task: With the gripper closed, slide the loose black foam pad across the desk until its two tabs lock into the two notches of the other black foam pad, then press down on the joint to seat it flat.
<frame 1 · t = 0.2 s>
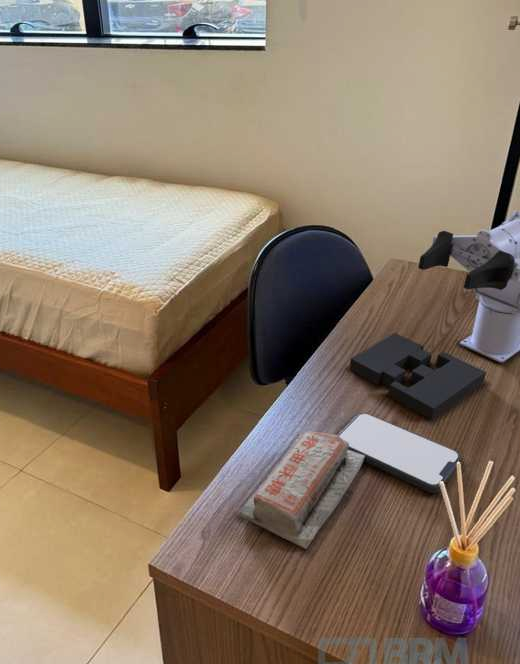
hand: (443, 272, 88), 21 cm above the table, tool horizontal, fingers open, 7 cm apart
packaged product: (304, 490, 83), on the table
loose pad: (385, 363, 106), on the table
smartphone: (395, 455, 88), on the table
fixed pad: (436, 389, 99), on the table
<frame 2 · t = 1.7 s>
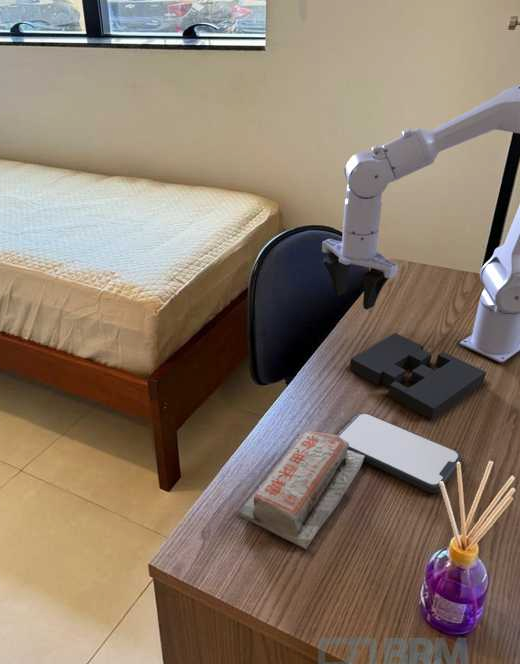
hand: (354, 300, 107), 9 cm above the table, tool pointing down, fingers open, 6 cm apart
nothing on the table moved.
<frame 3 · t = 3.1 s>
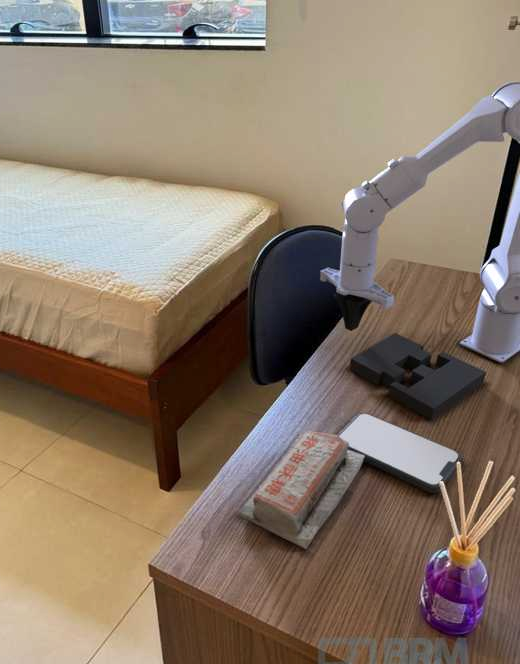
hand: (351, 327, 110), 4 cm above the table, tool pointing down, fingers closed
nothing on the table moved.
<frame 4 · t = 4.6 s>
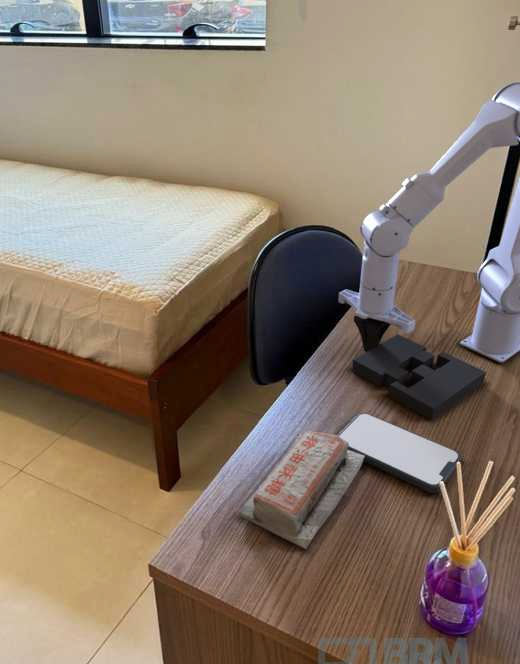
hand: (370, 350, 108), 1 cm above the table, tool pointing down, fingers closed
loose pad: (388, 364, 106), on the table, touching gripper
everything else where it was.
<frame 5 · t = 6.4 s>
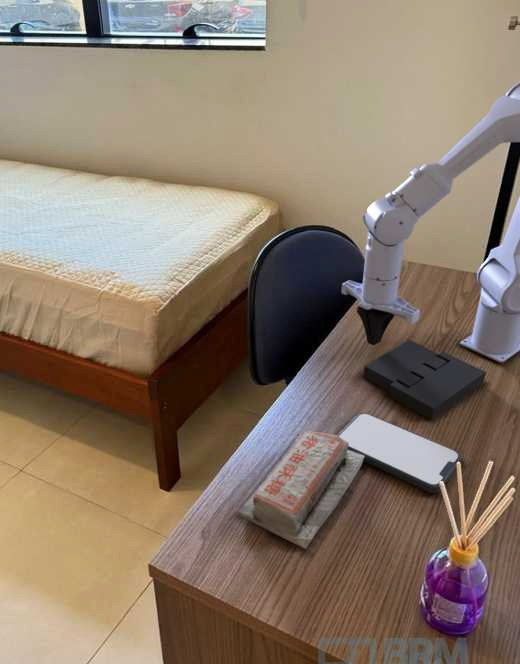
hand: (374, 342, 107), 3 cm above the table, tool pointing down, fingers closed
loose pad: (400, 371, 104), on the table
everything else where it was.
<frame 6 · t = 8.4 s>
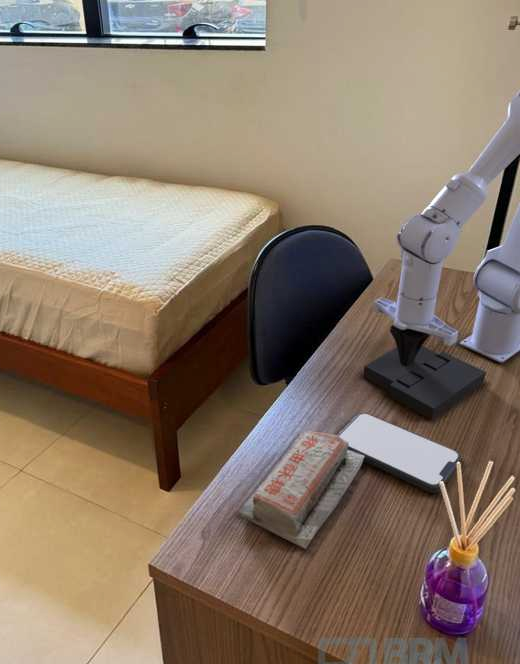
hand: (406, 362, 102), 2 cm above the table, tool pointing down, fingers closed, pressing on loose pad
loose pad: (400, 371, 104), on the table, touching gripper
everything else where it was.
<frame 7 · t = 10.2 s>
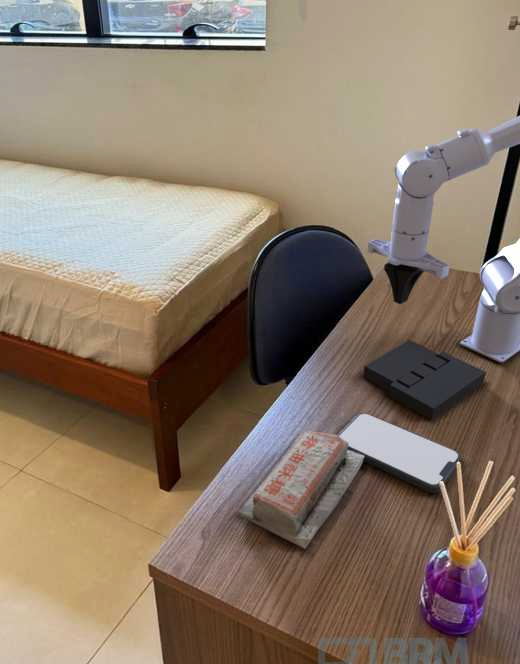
hand: (400, 301, 106), 9 cm above the table, tool pointing down, fingers closed
loose pad: (400, 371, 104), on the table
everything else where it was.
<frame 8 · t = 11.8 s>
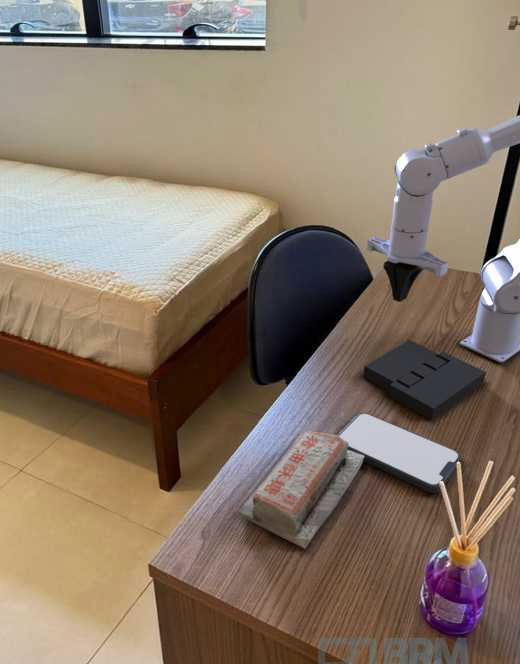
hand: (399, 298, 106), 9 cm above the table, tool pointing down, fingers closed
nothing on the table moved.
at the end: loose pad 0.0 cm from the target spot on the table beside the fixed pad, on the table; loose pad tilted 0°; loose pad moved 3.0 cm from its start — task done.
